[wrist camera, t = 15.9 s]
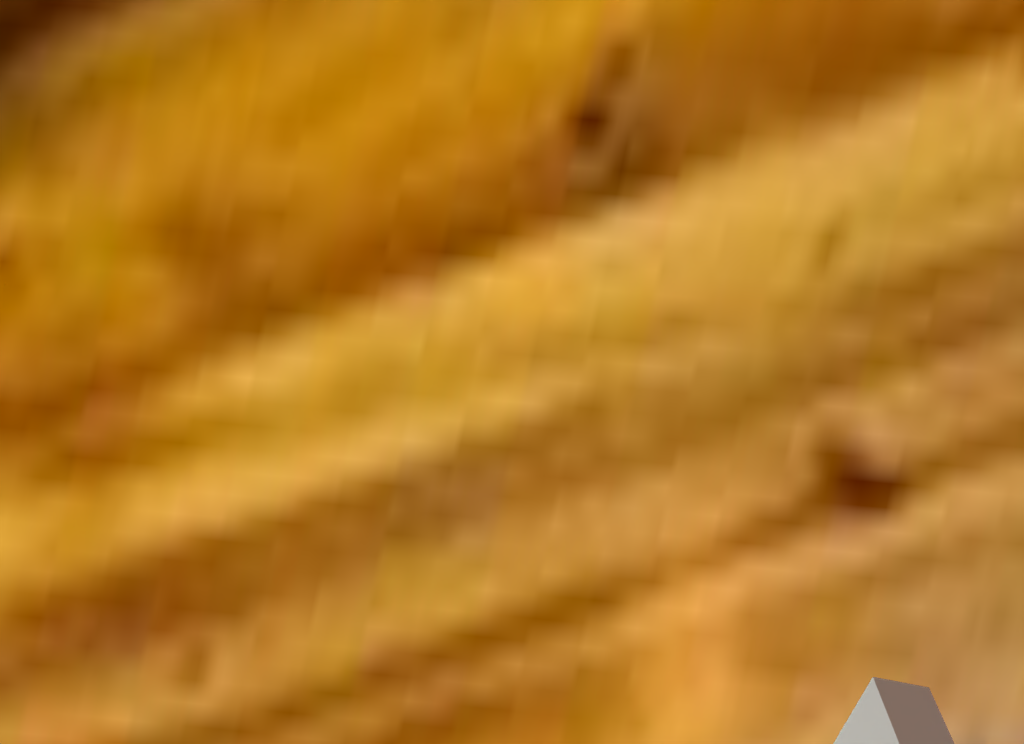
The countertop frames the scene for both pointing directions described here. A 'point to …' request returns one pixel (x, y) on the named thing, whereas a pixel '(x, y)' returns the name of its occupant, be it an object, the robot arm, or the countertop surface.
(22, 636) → the countertop surface
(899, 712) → the robot arm
